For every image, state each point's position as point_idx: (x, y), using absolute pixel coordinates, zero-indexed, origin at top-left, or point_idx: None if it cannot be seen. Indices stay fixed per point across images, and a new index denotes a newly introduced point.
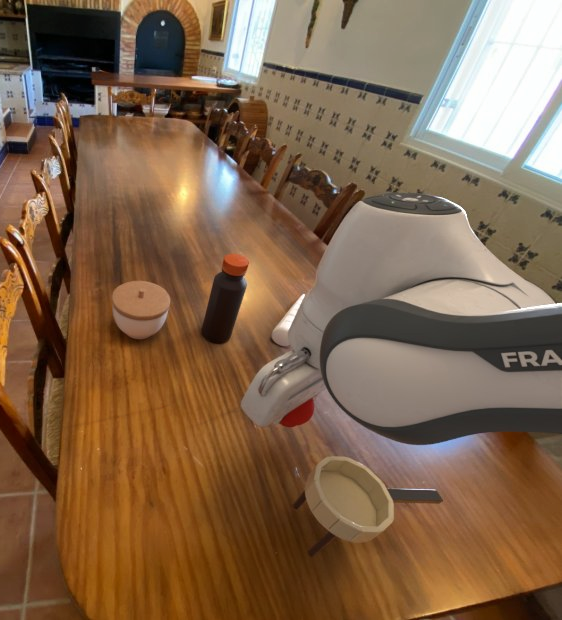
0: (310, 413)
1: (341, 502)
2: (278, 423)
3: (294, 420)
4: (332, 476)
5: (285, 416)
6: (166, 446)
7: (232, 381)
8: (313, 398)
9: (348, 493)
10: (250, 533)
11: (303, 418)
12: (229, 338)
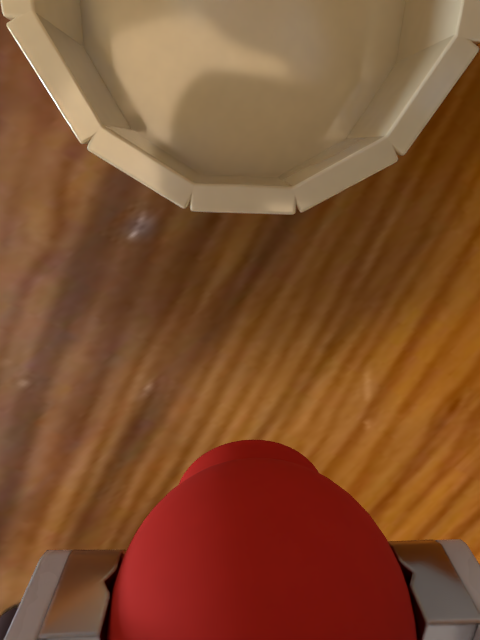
0: (267, 575)
1: (255, 5)
2: (450, 548)
3: (377, 544)
4: (177, 127)
5: (425, 598)
6: (404, 446)
7: (106, 509)
8: (79, 611)
9: (177, 14)
10: (404, 175)
11: (339, 551)
12: (14, 612)
